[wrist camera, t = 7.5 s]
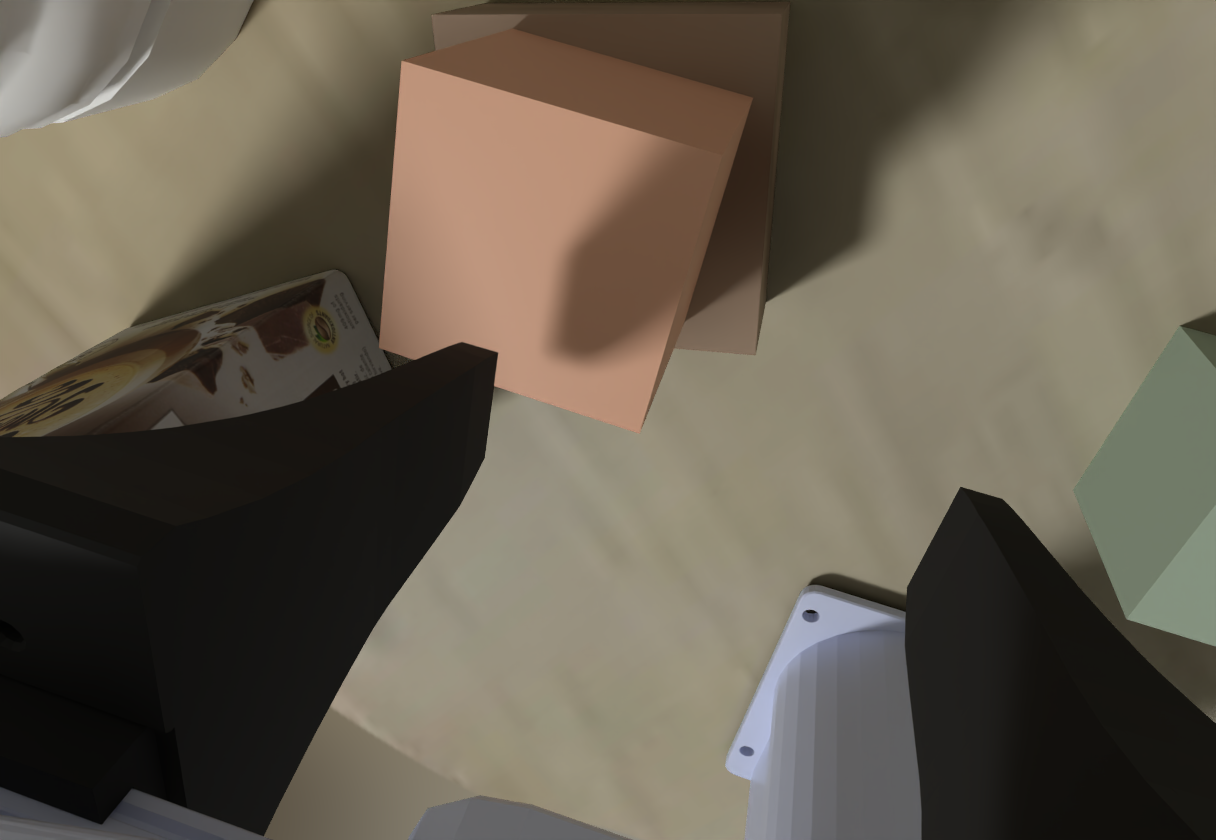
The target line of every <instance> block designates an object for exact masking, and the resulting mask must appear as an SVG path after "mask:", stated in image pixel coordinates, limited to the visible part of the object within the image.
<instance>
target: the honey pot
mask: <svg viewBox="0 0 1216 840" xmlns="http://www.w3.org/2000/svg"><path fill="white" fill-rule="evenodd" d="M252 3H253V0H0V137H7V136H9V135H11V134H14V133H16V132H18V131H20V130H22V129H32V128H42V127H44V126H46V125H48V124H51V123H62V122H66V121H70V120H74V119H78V118H82V117H86V116H90V115H94V114H98V113H102V112H106V111H109V110H113V109H117V108H121V107H125V106H129V105H133V104H137V103H141V102H145V101H149V100H152V99H155V98H157V97H160V96H162V95H164V94H166V93H168V92H170V91H172V90H175V89H177V88H179V87H181V86H183V85H185V84H188V83H190V82H192V81H194V80H196V79H198V78H199V77H200V76H201V75H202V74H203V73H204V72H205V71H206V70H207V69H208V68H209V67H210V66H211V65H212V64H213V63H214V62H215V61H216V60H217V59H218V57H219V56H220V55H221V54H222V53H223V52H224V51H225V50H226V49H227V48H228V47H229V46H230V45H231V44H232V43H233V42H234V41H235V39H236V37H237V35H238V33H239V31H240V28H241V26H242V24H243V22H244V20H245V18H246V15H247V13H248V11H249V9H250V7H251V5H252Z"/></svg>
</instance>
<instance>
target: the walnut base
mask: <svg viewBox="0 0 1216 840" xmlns="http://www.w3.org/2000/svg"><path fill="white" fill-rule="evenodd" d="M789 12H790V2H603V3H484V4H480V5H475V6H470V7H465V8H461V9H456V10H451V11H446V12H441V13H437V14H432V15H431V17H432V26H433V34H434V43H435V51H436V50H440V49H443V48H447V47H450V46H454V45H457V44H461V43H464V42H468V41H471V40H474V39H478V38H481V37H485V36H488V35H492V34H495V33H499V32H502V31H506V30H509V29H512V28H513V29H516V30H520V31H523V32H527V33H530V34H533V35H537V36H540V37H544V38H547V39H551V40H554V41H558V42H561V43H565V44H568V45H572V46H575V47H579V48H582V49H586V50H589V51H593V52H596V53H600V54H603V55H606V56H610V57H613V58H617V59H620V60H624V61H627V62H631V63H634V64H638V65H641V66H645V67H648V68H652V69H655V70H659V71H662V72H666V73H669V74H672V75H676V76H679V77H683V78H686V79H690V80H693V81H697V82H700V83H704V84H707V85H711V86H714V87H718V88H721V89H725V90H728V91H732V92H735V93H739V94H742V95H745V96H749V97H752V98H753V100H752V103H751V106H750V109H749V113H748V116H747V119H746V122H745V126H744V129H743V132H742V136H741V139H740V142H739V145H738V149H737V152H736V155H735V158H734V162H733V165H732V168H731V171H730V175H729V178H728V181H727V185H726V188H725V191H724V194H723V198H722V201H721V204H720V207H719V211H718V214H717V217H716V220H715V224H714V227H713V230H712V234H711V237H710V240H709V243H708V247H707V250H706V253H705V256H704V260H703V263H702V266H701V270H700V273H699V276H698V279H697V283H696V286H695V289H694V292H693V296H692V299H691V302H690V305H689V309H688V312H687V315H686V319H685V322H684V324H683V327H682V329H681V332H680V334H679V337H678V339H677V342H676V344H675V347H674V348H676V349H688V350H699V351H711V352H723V353H735V354H747V355H756V350H757V345H758V339H759V334H760V329H761V324H762V319H763V314H764V309H765V304H766V293H767V280H768V268H769V256H770V244H771V232H772V219H773V207H774V195H775V183H776V171H777V158H778V146H779V134H780V122H781V109H782V97H783V85H784V73H785V61H786V48H787V36H788V24H789Z"/></svg>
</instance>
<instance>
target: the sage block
mask: <svg viewBox="0 0 1216 840" xmlns="http://www.w3.org/2000/svg"><path fill="white" fill-rule="evenodd" d="M1073 491H1074V493H1075V496H1076V498H1077V501H1078V503H1079V505H1080V508H1081V510H1082V513H1083V515H1084V518H1085V520H1086V522H1087V525H1088V527H1089V530H1090V532H1091V535H1092V537H1093V539H1094V542H1095V544H1096V547H1097V549H1098V552H1099V554H1100V556H1101V559H1102V561H1103V564H1104V566H1105V569H1106V571H1107V573H1108V576H1109V578H1110V581H1111V583H1112V586H1113V588H1114V590H1115V593H1116V595H1117V598H1118V600H1119V603H1120V605H1121V607H1122V610H1123V612H1124V615H1125V617H1126V619H1127V620H1131V621H1134V622H1137V623H1140V624H1144V625H1147V626H1150V627H1153V628H1157V629H1160V630H1163V631H1166V632H1170V633H1173V634H1176V635H1179V636H1183V637H1186V638H1189V639H1193V640H1196V641H1199V642H1202V643H1206V644H1209V645H1212V646H1215V647H1216V335H1212V334H1208V333H1204V332H1201V331H1197V330H1193V329H1190V328H1186V327H1182V326H1179V327H1178V329H1177V331H1176V332H1175V334H1174V335H1173V337H1172V338H1171V340H1170V341H1169V343H1168V344H1167V346H1166V348H1165V349H1164V351H1163V352H1162V354H1161V355H1160V357H1159V358H1158V360H1157V361H1156V363H1155V365H1154V366H1153V368H1152V369H1151V371H1150V372H1149V374H1148V375H1147V377H1146V378H1145V380H1144V381H1143V383H1142V385H1141V386H1140V388H1139V389H1138V391H1137V392H1136V394H1135V395H1134V397H1133V398H1132V400H1131V402H1130V403H1129V405H1128V406H1127V408H1126V409H1125V411H1124V412H1123V414H1122V415H1121V417H1120V419H1119V420H1118V422H1117V423H1116V425H1115V426H1114V428H1113V429H1112V431H1111V432H1110V434H1109V435H1108V437H1107V439H1106V440H1105V442H1104V443H1103V445H1102V446H1101V448H1100V449H1099V451H1098V452H1097V454H1096V456H1095V457H1094V459H1093V460H1092V462H1091V463H1090V465H1089V466H1088V468H1087V469H1086V471H1085V473H1084V474H1083V476H1082V477H1081V479H1080V480H1079V482H1078V483H1077V485H1076V486H1075V488H1074V489H1073Z"/></svg>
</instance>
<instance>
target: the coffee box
mask: <svg viewBox="0 0 1216 840" xmlns="http://www.w3.org/2000/svg"><path fill="white" fill-rule="evenodd" d="M391 369H392V368H391V366H390V364H389V362H388V360H387V358H386V356H385V354H384V352H383V350H382V349H380V348H379V341H378V339H377V337H376V335H375V333H374V331H373V329H372V327H371V325H370V322H369V320H368V318H367V316H366V314H365V312H364V310H363V308H362V306H361V304H360V302H359V300H358V298H357V295H356V293H355V291H354V289H353V287H352V285H351V283H350V281H349V279H348V278H347V276H346V275H345V274H344V273H342V272H340V271H338V270H330V271H326V272H322V273H319V274H315V275H311V276H308V277H304V278H301V279H297V280H293V281H290V282H287V283H283V284H280V285H276V286H273V287H269V288H266V289H263V290H259V291H256V292H252V293H249V294H246V295H242V296H239V297H235V298H232V299H229V300H225V301H222V302H218V303H214V304H211V305H207V306H203V307H200V308H196V309H193V310H189V311H186V312H182V313H179V314H175V315H172V316H168V317H165V318H161V319H158V320H154V321H151V322H147V323H144V324H140V325H137V326H133V327H130V328H127V329H125V330H123V331H121V332H119V333H117V334H116V335H114V336H112V337H110V338H109V339H107V340H105V341H103V342H101V343H100V344H98V345H96V346H94V347H92V348H90V349H89V350H87V351H85V352H83V353H81V354H80V355H78V356H76V357H74V358H73V359H71V360H69V361H67V362H66V363H64V364H62V365H60V366H58V367H56V368H55V369H53V370H51V371H49V372H48V373H46V374H44V375H42V376H41V377H39V378H37V379H36V380H34V381H32V382H30V383H29V384H27V385H25V386H23V387H21V388H19V389H17V390H16V391H14V392H12V393H11V394H9V395H8V396H6V397H4V398H3V399H1V400H0V437H41V436H80V435H99V434H112V433H124V432H136V431H146V430H155V429H164V428H172V427H179V426H185V425H191V424H197V423H203V422H209V421H215V420H221V419H227V418H233V417H239V416H243V415H248V414H253V413H257V412H261V411H265V410H269V409H274V408H278V407H282V406H286V405H289V404H293V403H296V402H300V401H303V400H307V399H310V398H314V397H317V396H319V395H322V394H325V393H328V392H331V391H334V390H337V389H340V388H343V387H346V386H348V385H351V384H354V383H357V382H360V381H363V380H366V379H369V378H371V377H374V376H376V375H379V374H381V373H384V372H386V371H389V370H391Z"/></svg>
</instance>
